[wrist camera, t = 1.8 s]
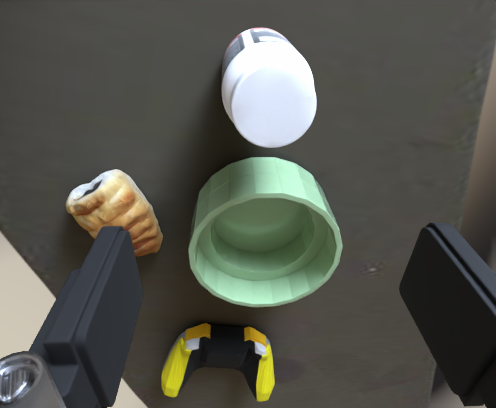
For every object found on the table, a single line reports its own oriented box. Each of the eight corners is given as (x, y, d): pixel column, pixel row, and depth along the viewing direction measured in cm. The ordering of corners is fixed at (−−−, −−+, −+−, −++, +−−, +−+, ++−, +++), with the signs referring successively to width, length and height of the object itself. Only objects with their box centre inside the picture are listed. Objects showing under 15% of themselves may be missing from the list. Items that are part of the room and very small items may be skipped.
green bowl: (190, 155, 30) (181, 194, 25) (333, 153, 31) (354, 191, 26) (199, 261, 38) (194, 309, 32) (315, 258, 38) (329, 305, 33)
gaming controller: (267, 367, 50) (284, 325, 45) (271, 406, 46) (290, 365, 40) (164, 360, 48) (169, 316, 43) (157, 401, 44) (161, 357, 38)
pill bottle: (243, 115, 29) (249, 172, 20) (208, 50, 26) (198, 87, 18) (306, 82, 27) (340, 129, 19) (277, 10, 24) (301, 29, 16)
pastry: (181, 229, 35) (176, 255, 32) (130, 255, 37) (120, 281, 34) (119, 159, 30) (106, 181, 27) (64, 192, 32) (45, 216, 29)
